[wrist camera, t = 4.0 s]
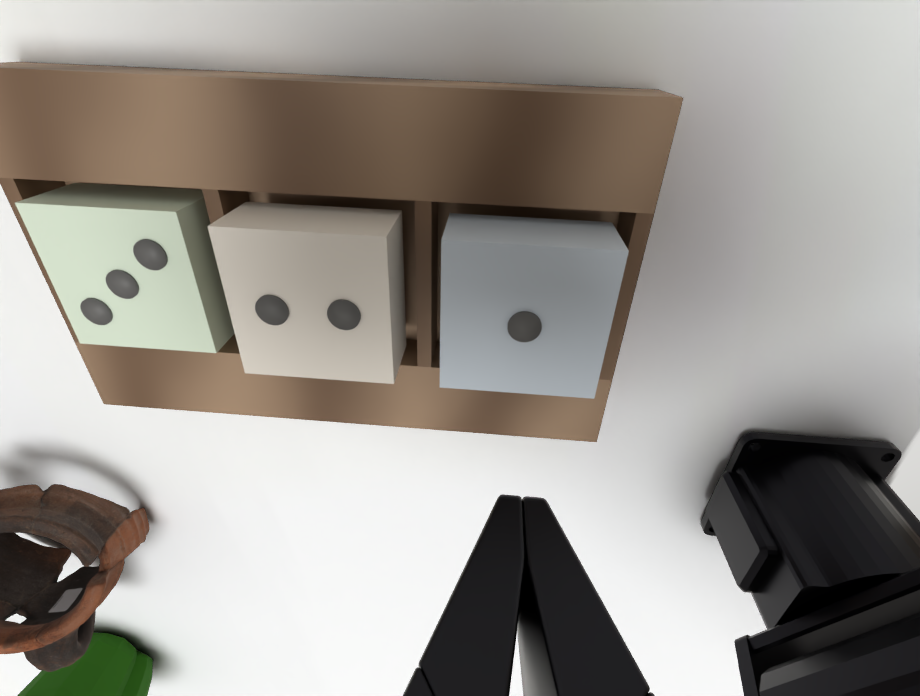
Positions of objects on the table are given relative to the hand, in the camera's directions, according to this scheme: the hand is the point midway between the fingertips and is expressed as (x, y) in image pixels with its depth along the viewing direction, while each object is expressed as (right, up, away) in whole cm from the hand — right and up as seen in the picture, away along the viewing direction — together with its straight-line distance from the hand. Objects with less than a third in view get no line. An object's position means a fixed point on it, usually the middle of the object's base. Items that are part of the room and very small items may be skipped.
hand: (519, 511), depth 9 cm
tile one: (+1, +5, +7) cm, 9 cm away
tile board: (-5, +6, +9) cm, 12 cm away
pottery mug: (-23, -7, +20) cm, 31 cm away
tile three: (-12, +6, +9) cm, 16 cm away
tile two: (-5, +5, +8) cm, 11 cm away
